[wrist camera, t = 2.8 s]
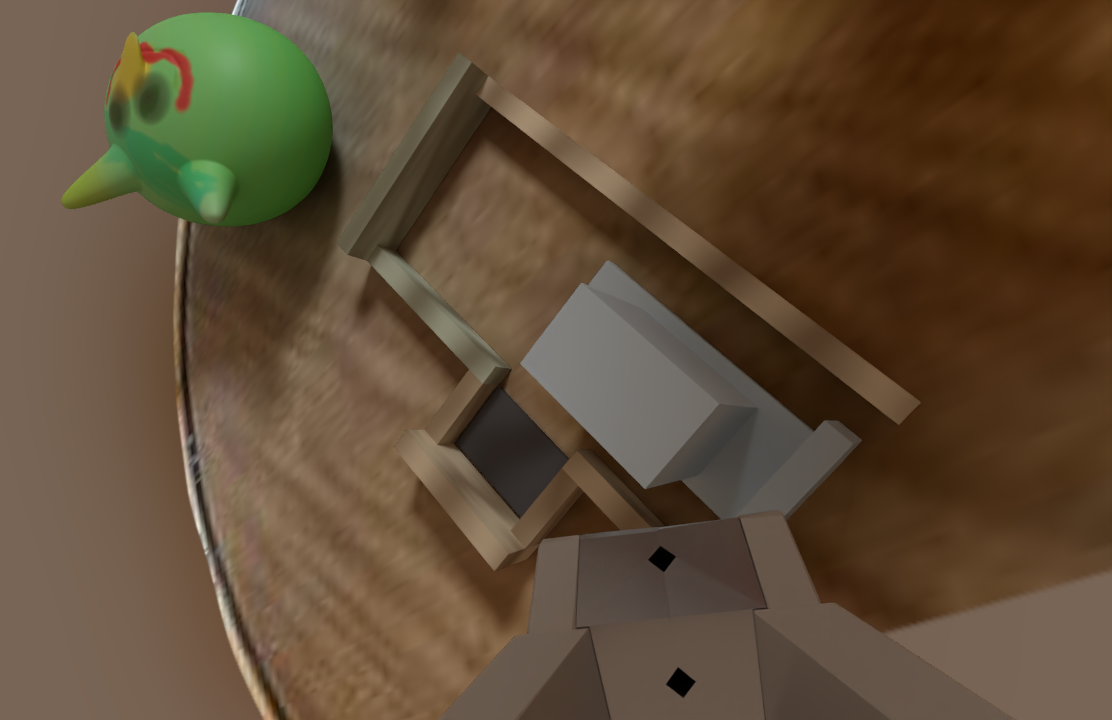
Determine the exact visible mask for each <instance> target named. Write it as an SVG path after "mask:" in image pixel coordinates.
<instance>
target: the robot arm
mask: <svg viewBox="0 0 1112 720" xmlns="http://www.w3.org/2000/svg"><path fill="white" fill-rule="evenodd" d="M438 720H1015V719H1014V718H1012V717H1011V716H1009V715H1007V714H1006V713H1004V712H1003V711H1001V710H1000V709H998V708H997V707H995V706H994V705H992V704H991V703H989V702H988V701H986V700H985V699H983V698H981V697H980V696H978V695H977V694H975V693H973V692H972V691H970V690H969V689H968V688H966V687H964V686H963V685H961V684H960V683H958V682H957V681H955V680H954V679H952V678H951V677H949V676H948V675H946V674H944V673H943V672H941V671H940V670H938V669H937V668H935V667H934V666H932V665H931V664H929V663H928V662H926V661H924V660H923V659H921V658H920V657H918V656H917V655H915V654H914V653H912V652H911V651H909V650H908V649H906V648H904V647H903V646H901V645H900V644H898V643H897V642H895V641H894V640H892V639H891V638H889V637H888V636H886V635H884V634H883V633H881V632H880V631H878V630H877V629H875V628H874V627H872V626H871V625H869V624H868V623H866V622H864V621H863V620H861V619H860V618H858V617H857V616H855V615H854V614H852V613H851V612H849V611H848V610H846V609H844V608H843V607H841V606H840V605H838V604H837V603H823V604H821V601H820V599H819V597H818V594H817V592H816V590H815V587H814V585H813V582H812V580H811V578H810V575H809V573H808V571H807V568H806V566H805V564H804V561H803V559H802V557H801V554H800V552H799V550H798V547H797V545H796V543H795V540H794V538H793V536H792V533H791V531H790V529H789V526H788V524H787V522H786V519H785V517H784V515H783V513H782V512H780V511H779V510H773V511H766V512H760V513H753V514H747V515H740V516H738V517H737V518H729V519H721V520H713V521H705V522H697V523H689V524H681V525H674V526H666V527H651V528H641V529H631V530H621V531H611V532H602V533H592V534H582V535H581V536H579V535H574V536H566V537H557V538H549V539H543V540H542V542H541V543H540V545H539V548H538V555H537V562H536V570H535V577H534V585H533V592H532V599H531V607H530V614H529V622H528V629H527V634H526V635H517V636H514V637H513V638H512V639H511V641H510V642H509V643H508V644H507V645H506V646H505V647H504V648H503V649H502V650H501V651H500V653H499V654H498V655H497V656H496V657H495V658H494V659H493V660H492V661H491V662H490V663H489V665H488V666H487V667H486V668H485V669H484V670H483V671H482V672H481V673H480V674H479V675H478V677H477V678H476V679H475V680H474V681H473V682H472V683H471V684H470V685H469V686H468V687H467V689H466V690H465V691H464V692H463V693H462V694H461V695H460V696H459V697H458V698H457V700H456V701H455V702H454V703H453V704H452V705H451V706H450V707H449V708H448V709H447V710H446V712H445V713H444V714H443V715H442V716H441V717H440V718H439V719H438Z"/></svg>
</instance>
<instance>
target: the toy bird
mask: <svg viewBox="0 0 1112 720" xmlns="http://www.w3.org/2000/svg"><path fill="white" fill-rule="evenodd" d="M104 108H105V109H104V117H105V128H106V134H107V138H108V142H109V145H110V149H109V150H108V151H107V153H106V154H104V155H103V156H102V157H101V158H100V159H99V160H98V161H97V162H96V163H95V164H94V165H93V166H92V167H90V168H89V169H88V170H87V171H86V172H85V173H84V174H83V175H82V176H81V177H80V178H78V179H77V180H76V181H75V182H74V183H73V184H72V185H71V186H70V188H69V189H68V190H67V191H66V192H65V194H64V195H63V197H62V204H63V206H64V207H65V208H68V209H76V208H81V207H86V206H90V205H93V204H96V203H100V202H103V201H106V200H109V199H112V198H115V197H118V196H122V195H125V194H128V193H132V192H137V191H138V192H139V193H140V194H141V195H142V196H143V197H144V198H145V199H147V200H148V201H149V202H151V203H152V204H154V205H155V206H157V207H158V208H160V209H162V210H163V211H165V212H167V213H170V214H172V215H174V216H176V217H179V218H181V219H184V220H187V221H191V222H195V223H199V224H204V225H211V226H227V227H230V226H245V225H251V224H256V223H260V222H264V221H267V220H270V219H273V218H275V217H277V216H279V215H281V214H283V213H285V212H287V211H289V210H290V209H292V208H293V207H295V206H296V205H297V204H299V203H300V202H301V201H302V200H303V199H304V198H305V197H306V196H307V195H308V194H309V193H310V192H311V190H312V189H313V188H314V186H315V185H316V183H317V182H318V180H319V178H320V177H321V175H322V173H323V170H324V168H325V166H326V163H327V160H328V157H329V153H330V149H331V143H332V133H333V124H332V114H331V108H330V103H329V99H328V96H327V93H326V90H325V87H324V85H323V82H322V80H321V78H320V76H319V74H318V72H317V71H316V69H315V67H314V66H313V64H312V63H311V62H310V60H309V59H308V58H307V57H306V55H305V54H304V53H303V52H302V51H301V50H300V49H299V48H298V47H297V46H296V45H295V44H294V43H293V42H291V41H290V40H289V39H288V38H286V37H285V36H284V35H282V34H281V33H279V32H277V31H276V30H274V29H272V28H270V27H268V26H266V25H264V24H262V23H259V22H257V21H254V20H251V19H248V18H245V17H241V16H236V15H231V14H224V13H192V14H185V15H180V16H176V17H173V18H170V19H167V20H164V21H162V22H160V23H158V24H156V25H154V26H152V27H150V28H149V29H147V30H146V31H144V32H143V33H142V34H140V35H139V36H138V37H137V35H136V34H135V33H134V32H132V33H130V35H129V36H128V38H127V40H126V43H125V46H124V49H123V53H122V55H121V57H120V58H119V60H118V62H117V64H116V65H115V68H114V70H113V72H112V75H111V77H110V80H109V83H108V87H107V92H106V97H105V107H104Z"/></svg>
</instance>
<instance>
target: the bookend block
mask: <svg viewBox="0 0 1112 720" xmlns="http://www.w3.org/2000/svg"><path fill="white" fill-rule="evenodd" d="M520 364H521V365H522V366H523V367H524V368H525V369H526V370H527V371H528V372H529V373H530V374H531V375H532V376H533V377H534V378H535V379H536V380H537V381H538V382H539V383H540V384H541V385H542V386H543V387H544V388H545V389H546V390H547V391H548V392H549V393H550V394H551V395H552V396H553V397H554V398H555V399H556V400H557V401H558V402H559V403H560V404H561V405H562V406H563V407H564V408H565V409H566V410H567V411H568V412H569V413H570V414H571V415H572V416H573V417H574V418H575V419H576V420H577V421H578V422H579V423H580V424H581V425H582V426H583V427H584V428H585V429H586V430H587V431H588V432H589V433H590V434H591V435H592V436H593V437H594V438H595V439H596V440H597V441H598V442H599V443H600V444H601V445H602V446H603V447H604V448H605V449H606V451H607V452H608V453H609V454H610V455H611V456H612V457H613V458H614V459H615V460H616V461H617V462H618V463H619V464H620V465H621V466H622V467H623V468H624V469H625V470H626V471H627V472H628V473H629V474H630V475H631V476H632V477H633V478H634V479H635V480H636V481H637V482H638V483H639V484H640V485H641V486H642V487H643V488H644V489H648V488H652V487H656V486H660V485H663V484H667V483H671V482H675V481H679V480H681V481H682V482H683V483H684V484H685V485H686V486H687V487H688V488H689V489H690V490H692V491H693V492H694V493H695V494H696V495H697V496H698V497H699V498H700V499H701V500H702V501H703V502H704V503H705V504H706V505H707V506H708V507H709V508H710V509H711V510H712V511H713V512H714V513H715V514H716V515H717V516H718V517H719V518H720V519H729V518H737V517H738V516H740V515H747V514H753V513H760V512H766V511H773V510H779V511H780V512H782V513H783V515H784V517H785V519H786V520H787V519H788V518H789V517H790V516H791V515H792V514H793V513H794V512H795V511H796V510H797V509H798V508H799V507H800V506H801V505H802V504H803V503H804V502H805V501H806V500H807V499H808V497H809V496H810V495H811V494H812V493H813V492H814V491H815V490H816V489H817V488H818V487H819V486H820V485H821V484H822V483H823V482H824V481H825V480H826V479H827V478H828V477H829V476H830V475H831V473H832V472H833V471H834V470H835V469H836V468H837V467H838V466H839V465H840V464H841V463H842V462H843V461H844V460H845V459H846V457H847V456H848V455H849V454H850V453H851V452H852V451H853V450H854V449H855V448H856V447H857V446H858V445H859V444H860V443H861V441H862V440H861V439H860V438H859V437H858V436H857V435H855V434H854V433H853V432H852V431H850V430H849V429H848V428H847V427H846V426H844V425H843V424H842V423H841V422H839V421H829V420H824V422H823V423H822V424H821V425H820V426H819V427H818V428H817V429H816V430H815V431H814V430H813V429H811V428H810V427H809V426H808V425H807V424H805V423H804V422H803V421H802V420H801V419H799V418H798V417H797V416H796V415H795V414H793V413H792V412H791V411H790V410H789V409H787V408H786V407H785V406H784V405H783V404H781V403H780V402H779V401H778V400H777V399H775V398H774V397H773V396H772V395H771V394H770V393H768V392H767V391H766V390H765V389H764V388H762V387H761V386H760V385H759V384H758V383H756V382H755V381H754V380H753V379H752V378H750V377H749V376H748V375H747V374H746V373H744V372H743V371H742V370H741V369H740V368H738V367H737V366H736V365H735V364H734V363H732V362H731V361H730V360H729V359H728V358H726V357H725V356H724V355H723V354H722V353H720V352H719V351H718V350H717V349H716V348H714V347H713V346H712V345H711V344H710V343H709V342H707V341H706V340H705V339H704V338H703V337H701V336H700V335H699V334H698V333H697V332H695V331H694V330H693V329H692V328H691V327H689V326H688V325H687V324H686V323H685V322H683V321H682V320H681V319H680V318H679V317H677V316H676V315H675V314H674V313H673V312H671V311H670V310H669V309H668V308H667V307H665V306H664V305H663V304H662V303H661V302H659V301H658V300H657V299H656V298H655V297H653V296H652V295H651V294H650V293H649V292H648V291H646V290H645V289H644V288H643V287H642V286H640V285H639V284H638V283H637V282H636V281H634V280H633V279H632V278H631V277H630V276H628V275H627V274H626V273H625V272H624V271H622V270H621V269H620V268H619V267H618V266H616V265H615V264H614V263H612V262H610V261H609V260H607V261H606V263H605V264H604V265H603V267H602V268H601V269H600V270H599V272H598V273H597V274H596V276H595V277H594V278H593V280H592V281H591V282H590V284H589V285H586V284H583V283H581V284H580V285H579V287H578V288H577V289H576V291H575V292H574V293H573V295H572V296H571V297H570V298H569V300H568V301H567V302H566V304H565V305H564V306H563V308H562V309H561V310H560V312H559V313H558V314H557V316H556V317H555V318H554V319H553V321H552V322H551V323H550V325H549V326H548V327H547V329H546V330H545V331H544V333H543V334H542V335H541V337H540V338H539V339H538V340H537V342H536V343H535V344H534V346H533V347H532V348H531V350H530V351H529V352H528V354H527V355H526V356H525V358H524V359H523V360H522V362H521V363H520Z"/></svg>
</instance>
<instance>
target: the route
mask: <svg viewBox="0 0 1112 720" xmlns="http://www.w3.org/2000/svg"><path fill="white" fill-rule="evenodd" d="M491 107H493V108H494V109H495V110H496V111H498V112H499V113H500V114H501V115H503V116H504V117H505V118H507V119H508V120H509V121H510V122H512V123H513V124H514V125H516V126H517V127H518V128H519V129H521V130H522V131H523V132H525V133H526V134H527V135H528V136H530V137H531V138H532V139H533V140H535V141H536V142H537V143H539V144H540V145H541V146H542V147H544V148H545V149H546V150H548V151H549V152H550V153H551V154H553V155H554V156H555V157H556V158H558V159H559V160H560V161H562V162H563V163H564V164H565V165H567V166H568V167H569V168H571V169H572V170H573V171H574V172H576V173H577V174H578V175H580V176H581V177H582V178H583V179H585V180H586V181H587V182H588V183H590V184H591V185H592V186H594V187H595V188H596V189H597V190H599V191H600V192H601V193H603V194H604V195H605V196H606V197H608V198H609V199H610V200H611V201H613V202H614V203H615V204H617V205H618V206H619V207H620V208H622V209H623V210H624V211H626V212H627V213H628V214H629V215H631V216H632V217H633V218H635V219H636V220H637V221H638V222H640V223H641V224H642V225H643V226H645V227H646V228H647V229H649V230H650V231H651V232H652V233H654V234H655V235H656V236H658V237H659V238H660V239H661V240H663V241H664V242H665V243H666V244H668V245H669V246H670V247H672V248H673V249H674V250H675V251H677V252H678V253H679V254H681V255H682V256H683V257H684V258H686V259H687V260H688V261H690V262H691V263H692V264H693V265H695V266H696V267H697V268H698V269H700V270H701V271H702V272H704V273H705V274H706V275H707V276H709V277H710V278H711V279H713V280H714V281H715V282H716V283H718V284H719V285H720V286H721V287H723V288H724V289H725V290H727V291H728V292H729V293H730V294H732V295H733V296H734V297H736V298H737V299H738V300H739V301H741V302H742V303H743V304H745V305H746V306H747V307H748V308H750V309H751V310H752V311H753V312H755V313H756V314H757V315H759V316H760V317H761V318H762V319H764V320H765V321H766V322H768V323H769V324H770V325H771V326H773V327H774V328H775V329H776V330H778V331H779V332H780V333H782V334H783V335H784V336H785V337H787V338H788V339H789V340H791V341H792V342H793V343H794V344H796V345H797V346H798V347H800V348H801V349H802V350H803V351H805V352H806V353H807V354H808V355H810V356H811V357H812V358H814V359H815V360H816V361H817V362H819V363H820V364H821V365H823V366H824V367H825V368H826V369H828V370H829V371H830V372H831V373H833V374H834V375H835V376H837V377H838V378H839V379H840V380H842V381H843V382H844V383H846V384H847V385H848V386H849V387H851V388H852V389H853V390H855V391H856V392H857V393H858V394H860V395H861V396H862V397H863V398H865V399H866V400H867V401H869V402H870V403H871V404H872V405H874V406H875V407H876V408H878V409H879V410H880V411H881V412H883V413H884V414H885V415H886V416H888V417H889V418H890V419H892V420H893V421H894V422H895V423H897V424H898V425H900V424H901V423H902V421H903V420H904V419H905V418H906V417H907V416H908V415H909V414H910V413H911V412H912V411H913V410H914V409H915V408H916V407H917V406H918V405H919V404H920V403H921V402H920V401H919V400H917V399H916V398H915V397H913V396H912V395H911V394H909V393H908V392H907V391H905V390H904V389H903V388H901V387H900V386H899V385H897V384H896V383H895V382H893V381H892V380H891V379H889V378H888V377H887V376H886V375H884V374H883V373H882V372H880V371H879V370H878V369H876V368H875V367H874V366H872V365H871V364H870V363H868V362H867V361H866V360H864V359H863V358H862V357H860V356H859V355H858V354H856V353H855V352H854V351H852V350H851V349H850V348H848V347H847V346H846V345H844V344H843V343H842V342H840V341H839V340H838V339H836V338H835V337H834V336H832V335H831V334H830V333H828V332H827V331H826V330H824V329H823V328H822V327H821V326H819V325H818V324H817V323H815V322H814V321H813V320H811V319H810V318H809V317H807V316H806V315H805V314H803V313H802V312H801V311H799V310H798V309H797V308H795V307H794V306H793V305H791V304H790V303H789V302H787V301H786V300H785V299H783V298H782V297H781V296H779V295H778V294H777V293H775V292H774V291H773V290H771V289H770V288H769V287H767V286H766V285H765V284H763V283H762V282H761V281H760V280H758V279H757V278H756V277H754V276H753V275H752V274H750V273H749V272H748V271H746V270H745V269H744V268H742V267H741V266H740V265H738V264H737V263H736V262H734V261H733V260H732V259H730V258H729V257H728V256H726V255H725V254H724V253H722V252H721V251H720V250H718V249H717V248H716V247H714V246H713V245H712V244H710V243H709V242H708V241H706V240H705V239H704V238H702V237H701V236H700V235H698V234H697V233H696V232H695V231H693V230H692V229H691V228H689V227H688V226H687V225H685V224H684V223H683V222H681V221H680V220H679V219H677V218H676V217H675V216H673V215H672V214H671V213H669V212H668V211H667V210H665V209H664V208H663V207H661V206H660V205H659V204H657V203H656V202H655V201H653V200H652V199H651V198H649V197H648V196H647V195H645V194H644V193H643V192H641V191H640V190H639V189H637V188H636V187H635V186H633V185H632V184H631V183H630V182H628V181H627V180H626V179H624V178H623V177H622V176H620V175H619V174H618V173H616V172H615V171H614V170H612V169H611V168H610V167H608V166H607V165H606V164H604V163H603V162H602V161H600V160H599V159H598V158H596V157H595V156H594V155H592V154H591V153H590V152H588V151H587V150H586V149H584V148H583V147H582V146H580V145H579V144H578V143H576V142H575V141H574V140H572V139H571V138H570V137H569V136H567V135H566V134H565V133H563V132H562V131H561V130H559V129H558V128H557V127H555V126H554V125H553V124H551V123H550V122H549V121H547V120H546V119H545V118H543V117H542V116H541V115H539V114H538V113H537V112H535V111H534V110H533V109H531V108H530V107H529V106H527V105H526V104H525V103H523V102H522V101H521V100H519V99H518V98H517V97H515V96H514V95H513V94H511V93H510V92H509V91H507V90H506V89H505V88H504V87H502V86H501V85H500V84H498V83H497V82H496V81H494V80H493V79H492V78H490V77H489V76H488V75H486V74H485V73H484V72H483V71H482V70H480V69H479V68H478V67H477V66H476V65H474V64H473V63H472V62H471V61H469V60H468V59H467V58H465V57H464V56H463V55H461V54H460V53H459V52H458V53H457V55H456V57H455V58H454V60H453V61H452V63H451V64H450V66H449V68H448V69H447V71H446V72H445V74H444V75H443V77H442V79H441V80H440V82H439V83H438V85H437V86H436V88H435V90H434V91H433V93H432V94H431V96H430V97H429V99H428V101H427V102H426V104H425V105H424V107H423V108H422V110H421V111H420V113H419V115H418V116H417V118H416V119H415V121H414V122H413V124H412V126H411V127H410V129H409V130H408V132H407V133H406V135H405V137H404V138H403V140H402V141H401V143H400V144H399V146H398V148H397V149H396V151H395V152H394V154H393V155H392V157H391V159H390V160H389V162H388V163H387V165H386V166H385V168H384V170H383V171H382V173H381V174H380V176H379V177H378V179H377V180H376V182H375V184H374V185H373V187H372V188H371V190H370V191H369V193H368V195H367V196H366V198H365V199H364V201H363V202H362V204H361V206H360V207H359V209H358V210H357V212H356V213H355V215H354V217H353V218H352V220H351V221H350V223H349V224H348V226H347V228H346V229H345V231H344V232H343V234H342V235H341V237H340V238H339V240H338V242H337V244H338V245H339V246H340V247H341V248H342V249H343V251H344V252H345V253H346V254H347V255H350V256H353V257H357V258H360V259H363V260H367V261H368V262H369V263H370V264H371V265H372V266H373V268H374V269H375V270H376V271H377V272H378V273H379V274H380V275H381V276H382V277H383V278H384V279H385V280H386V281H387V282H388V283H389V285H390V286H391V287H392V288H393V289H394V290H395V291H396V292H397V293H398V294H399V295H400V296H401V297H402V298H403V299H404V301H405V302H406V303H407V304H408V305H409V306H410V307H411V308H412V309H413V310H414V311H415V312H416V313H417V314H418V315H419V317H420V318H421V319H422V320H423V321H424V322H425V323H426V324H427V325H428V326H429V327H430V328H431V329H432V330H433V331H434V332H435V334H436V335H437V336H438V337H439V338H440V339H441V340H442V341H443V342H444V343H445V344H446V345H447V346H448V347H449V348H450V350H451V351H452V352H453V353H454V354H455V355H456V356H457V357H458V358H459V359H460V360H461V361H462V362H463V363H464V364H465V366H466V367H467V368H468V369H469V370H468V372H467V373H466V374H465V376H464V377H463V378H462V380H461V381H460V382H459V384H458V385H457V386H456V388H455V389H454V390H453V392H452V393H451V395H450V396H449V397H448V399H447V400H446V401H445V403H444V404H443V405H442V407H441V408H440V409H439V411H438V412H437V413H436V415H435V416H434V418H433V419H432V420H431V422H430V423H429V424H428V426H427V427H426V428H425V430H405V431H404V433H403V434H402V435H401V437H400V438H399V439H398V441H397V442H396V444H395V445H394V446H393V447H394V448H395V449H396V450H397V452H398V453H399V454H400V455H401V456H402V458H403V459H404V460H405V461H406V463H407V464H408V465H409V466H410V468H411V469H412V470H413V471H414V473H415V474H416V475H417V476H418V477H419V479H420V480H421V481H422V482H423V484H424V485H425V486H426V487H427V489H428V490H429V491H430V492H431V494H432V495H433V496H434V497H435V499H436V500H437V501H438V502H439V503H440V505H441V506H442V507H443V508H444V510H445V511H446V512H447V513H448V515H449V516H450V517H451V518H452V520H453V521H454V522H455V523H456V525H457V526H458V527H459V528H460V529H461V531H462V532H463V533H464V534H465V536H466V537H467V538H468V539H469V541H470V542H471V543H472V544H473V546H474V547H475V548H476V549H477V551H478V552H479V553H480V554H481V555H482V557H483V558H484V559H485V560H486V562H487V563H488V564H489V565H490V567H491V568H492V569H493V570H494V571H496V570H499V569H502V568H505V567H508V566H510V565H513V564H516V563H519V562H521V561H524V560H527V559H528V558H529V557H530V556H531V554H532V553H533V552H534V551H535V550H536V548H537V547H538V546H539V545H540V543H541V542H542V540H543V539H545V538H546V537H547V535H548V534H549V533H550V532H551V531H552V529H553V528H554V527H555V526H556V525H557V524H558V522H559V521H560V520H561V519H562V518H563V516H564V515H565V514H566V513H567V512H568V510H569V509H570V508H571V507H572V506H573V505H574V503H575V502H576V501H577V500H578V499H579V497H580V496H581V495H582V494H583V493H584V492H585V493H586V494H587V495H588V496H589V498H590V499H591V500H592V501H593V502H594V503H595V504H596V505H597V506H598V507H599V508H600V509H601V510H602V511H603V512H604V514H605V515H606V516H607V517H608V518H609V519H610V520H611V521H612V522H613V523H614V524H615V525H616V526H617V527H618V528H619V530H620V531H621V530H631V529H641V528H651V527H666V526H665V525H664V524H663V523H662V522H661V521H660V520H659V519H658V518H657V517H656V516H655V515H654V514H653V513H652V512H651V511H650V510H649V509H648V508H647V507H646V506H645V505H644V504H643V503H642V502H641V501H640V500H639V499H638V497H637V496H636V495H635V494H634V493H633V492H632V491H631V490H630V489H629V488H628V487H627V486H626V485H625V484H624V483H623V482H622V481H621V480H620V479H619V478H618V477H617V476H616V475H615V474H614V473H613V472H612V471H611V470H610V469H609V468H608V467H607V466H606V465H605V464H604V463H603V462H602V461H601V460H600V459H599V458H598V457H597V456H596V455H595V454H594V453H593V452H592V451H591V450H590V449H586V450H576V452H575V453H574V454H573V455H572V456H571V458H570V459H569V458H568V457H567V456H566V455H565V454H564V453H563V452H562V451H561V450H560V449H559V448H558V447H557V446H556V445H555V444H554V443H553V442H552V441H551V439H550V438H549V437H548V436H547V435H546V434H545V433H544V432H543V431H542V430H541V429H540V428H539V427H538V426H537V425H536V424H535V423H534V422H533V421H532V420H531V418H530V417H529V416H528V415H527V414H526V413H525V412H524V411H523V410H522V409H521V408H520V407H519V406H518V405H517V404H516V403H515V402H514V401H513V400H512V399H511V397H510V396H509V395H508V394H507V393H506V392H505V391H504V390H503V389H502V388H501V387H498V386H499V384H500V383H501V382H502V381H503V379H504V378H505V377H506V375H507V374H508V373H509V371H510V370H511V368H510V367H509V366H508V365H507V364H506V363H505V362H504V361H503V360H502V359H501V358H500V357H499V356H498V355H497V354H496V353H495V352H494V350H493V349H492V348H491V347H490V346H489V345H488V344H487V343H486V342H485V341H484V340H483V339H482V338H481V337H480V336H479V335H478V334H477V333H476V332H475V331H474V330H473V329H472V328H471V327H470V326H469V325H468V324H467V323H466V322H465V321H464V320H463V319H462V318H461V317H460V316H459V315H458V314H457V313H456V312H455V311H454V310H453V309H452V308H451V307H450V306H449V305H448V304H447V303H446V301H445V300H444V299H443V298H442V297H441V296H440V295H439V294H438V293H437V292H436V291H435V290H434V289H433V288H432V287H431V286H430V285H429V284H428V283H427V282H426V281H425V280H424V279H423V278H422V277H421V276H420V275H419V274H418V273H417V272H416V271H415V270H414V269H413V268H412V267H411V266H410V265H409V264H408V263H407V262H406V261H405V260H404V259H403V258H402V257H401V256H400V255H399V254H398V252H397V251H396V249H397V248H398V246H399V245H400V243H401V242H402V240H403V239H404V237H405V236H406V234H407V233H408V231H409V230H410V228H411V227H412V225H413V224H414V222H415V221H416V219H417V218H418V216H419V215H420V213H421V212H422V210H423V209H424V207H425V206H426V204H427V203H428V201H429V200H430V198H431V197H432V195H433V194H434V192H435V191H436V189H437V188H438V186H439V185H440V183H441V182H442V180H443V179H444V177H445V176H446V174H447V173H448V171H449V170H450V168H451V167H452V165H453V164H454V162H455V161H456V159H457V158H458V156H459V155H460V153H461V152H462V150H463V149H464V147H465V146H466V144H467V143H468V141H469V140H470V138H471V137H472V135H473V134H474V132H475V131H476V129H477V128H478V126H479V125H480V123H481V122H482V120H483V119H484V117H485V116H486V114H487V113H488V111H489V110H490V108H491ZM497 387H498V388H497ZM496 388H497V389H496ZM495 390H496V391H495ZM494 391H495V392H494ZM493 392H494V393H493ZM492 394H493V395H492ZM491 395H492V396H491ZM490 396H491V397H490ZM489 398H490V399H489ZM488 399H489V400H488ZM487 400H488V401H487ZM486 402H487V403H486ZM485 403H486V404H485ZM484 404H485V405H484ZM482 407H483V408H482ZM481 408H482V409H481ZM479 411H480V412H479ZM478 412H479V413H478ZM477 413H478V414H477ZM476 415H477V416H476ZM475 416H476V417H475ZM474 417H475V418H474ZM473 419H474V420H473ZM472 420H473V421H472ZM471 421H472V422H471ZM470 423H471V424H470ZM469 424H470V425H469ZM468 425H469V426H468ZM467 427H468V428H467ZM466 428H467V429H466ZM465 429H466V430H465ZM464 431H465V432H464ZM463 432H464V433H463ZM462 433H463V434H462ZM460 436H461V437H460ZM459 437H460V438H459ZM458 438H459V439H458ZM457 440H458V441H457ZM456 441H457V442H456ZM455 442H456V443H457V444H458V445H459V447H460V448H461V449H462V450H463V451H464V452H465V454H466V455H467V456H468V457H469V458H470V459H471V460H472V462H473V463H474V464H475V465H476V466H477V467H478V469H479V470H480V471H481V472H482V473H483V474H484V475H485V477H486V478H487V479H488V480H489V481H490V482H491V484H492V485H493V486H494V487H495V488H496V489H497V491H498V492H499V493H500V494H501V495H502V496H503V497H504V499H505V500H506V501H507V502H508V503H509V504H510V506H511V507H512V508H513V509H514V510H515V511H516V512H517V514H518V515H519V516H520V517H521V518H520V519H519V518H518V517H517V515H516V514H515V513H514V512H513V511H512V510H511V508H510V507H509V506H508V505H507V504H506V503H505V502H504V500H503V499H502V498H501V497H500V496H499V495H498V493H497V492H496V491H495V490H494V489H493V488H492V486H491V485H490V484H489V483H488V482H487V481H486V480H485V478H484V477H483V476H482V475H481V474H480V473H479V471H478V470H477V469H476V468H475V467H474V466H473V465H472V463H471V462H470V461H469V460H468V459H467V458H466V456H465V455H464V454H463V453H462V452H461V451H460V449H459V448H458V447H457V446H456V445H455Z"/></svg>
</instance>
